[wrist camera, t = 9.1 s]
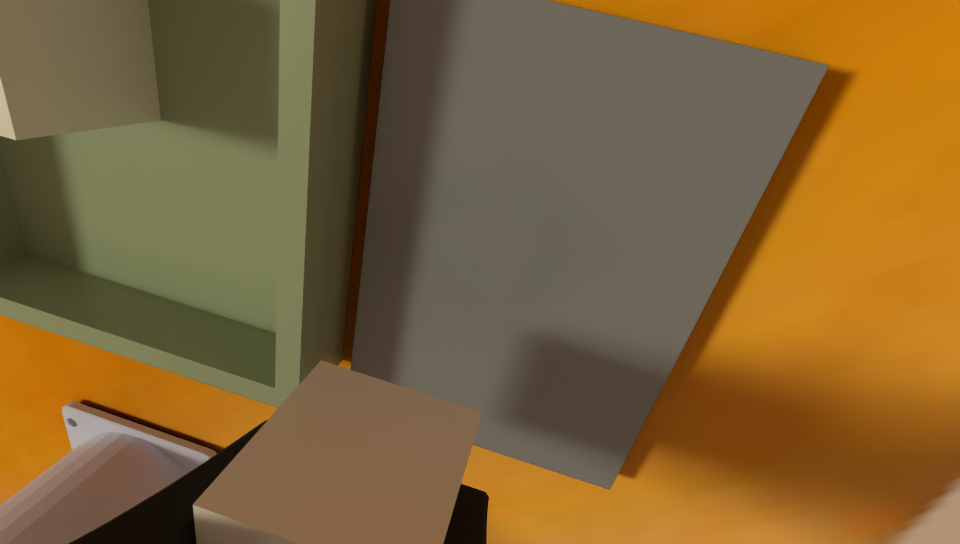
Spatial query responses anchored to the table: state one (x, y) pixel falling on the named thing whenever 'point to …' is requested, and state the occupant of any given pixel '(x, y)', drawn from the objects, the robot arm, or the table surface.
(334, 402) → the stone cube near
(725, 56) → the slate board
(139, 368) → the table surface
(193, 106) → the olive dish
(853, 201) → the table surface
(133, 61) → the stone cube far
